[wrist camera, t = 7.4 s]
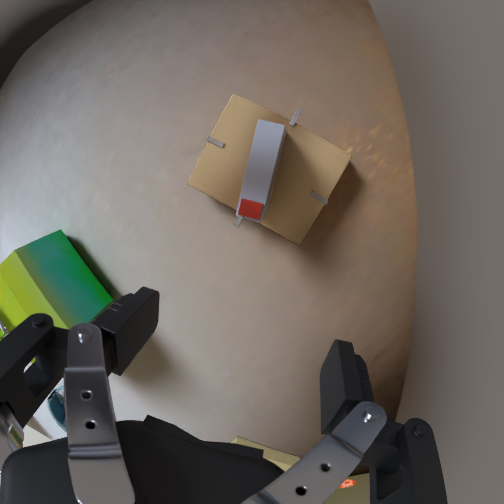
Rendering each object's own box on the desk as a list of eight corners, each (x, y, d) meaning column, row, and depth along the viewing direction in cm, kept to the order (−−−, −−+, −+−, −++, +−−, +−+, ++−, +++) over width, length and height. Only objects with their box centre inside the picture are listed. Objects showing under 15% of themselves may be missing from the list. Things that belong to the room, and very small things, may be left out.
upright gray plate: (266, 127, 19) (257, 118, 15) (287, 132, 19) (285, 124, 15) (247, 204, 21) (234, 217, 17) (268, 209, 21) (260, 223, 17)
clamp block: (354, 145, 21) (361, 144, 18) (293, 248, 25) (293, 258, 22) (244, 87, 21) (238, 80, 18) (191, 192, 24) (179, 196, 22)
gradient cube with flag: (71, 225, 28) (-32, 274, 13) (121, 292, 29) (33, 373, 15) (41, 273, 31) (-36, 323, 17) (83, 329, 33) (15, 396, 19)
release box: (299, 457, 35) (298, 477, 31) (271, 474, 38) (268, 491, 35) (237, 436, 35) (232, 457, 31) (214, 455, 38) (209, 473, 34)
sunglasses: (48, 391, 42) (37, 404, 37) (77, 371, 39) (63, 387, 35) (94, 436, 45) (86, 450, 40) (131, 424, 42) (122, 442, 37)
